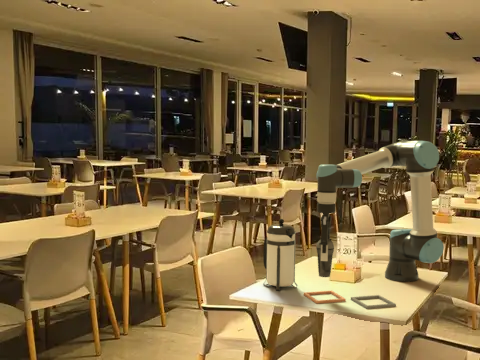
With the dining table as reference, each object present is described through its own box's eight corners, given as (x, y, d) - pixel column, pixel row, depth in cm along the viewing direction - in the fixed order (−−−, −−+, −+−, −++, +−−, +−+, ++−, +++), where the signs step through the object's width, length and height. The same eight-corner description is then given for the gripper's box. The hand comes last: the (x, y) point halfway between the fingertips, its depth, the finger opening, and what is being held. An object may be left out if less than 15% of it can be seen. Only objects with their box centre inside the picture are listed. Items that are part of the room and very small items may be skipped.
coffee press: (300, 283, 252) (302, 217, 250) (293, 292, 237) (294, 222, 235) (263, 280, 257) (264, 215, 255) (253, 288, 242) (254, 219, 240)
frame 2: (378, 297, 231) (378, 295, 231) (395, 306, 219) (395, 303, 219) (350, 299, 228) (350, 297, 228) (366, 308, 216) (366, 306, 215)
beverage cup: (335, 278, 225) (336, 228, 224) (317, 278, 225) (318, 228, 223) (331, 273, 233) (332, 225, 231) (313, 273, 232) (314, 225, 231)
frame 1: (331, 292, 237) (331, 290, 237) (345, 301, 225) (345, 298, 225) (303, 294, 234) (303, 292, 234) (316, 303, 222) (316, 301, 221)
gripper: (319, 199, 237) (318, 253, 239) (314, 205, 218) (313, 263, 219) (337, 200, 235) (335, 254, 237) (334, 206, 216) (332, 264, 218)
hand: (324, 258), depth 228 cm, fingers closed on beverage cup, 7 cm apart
